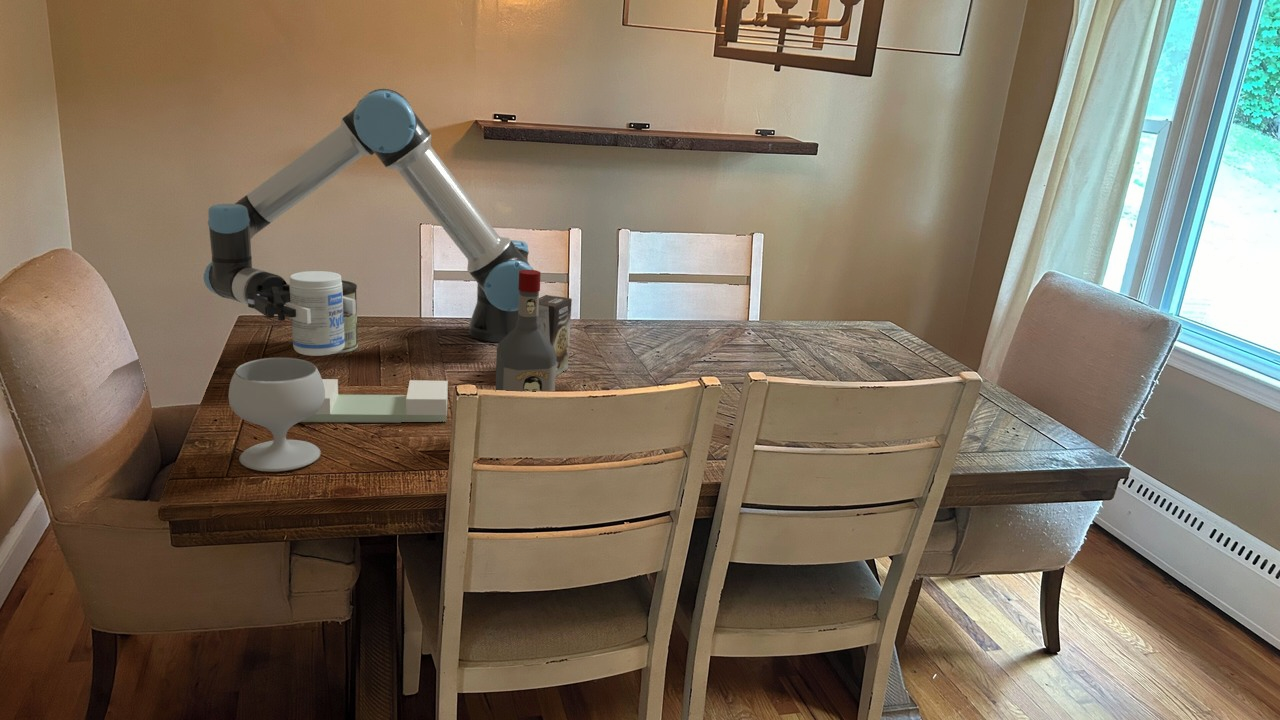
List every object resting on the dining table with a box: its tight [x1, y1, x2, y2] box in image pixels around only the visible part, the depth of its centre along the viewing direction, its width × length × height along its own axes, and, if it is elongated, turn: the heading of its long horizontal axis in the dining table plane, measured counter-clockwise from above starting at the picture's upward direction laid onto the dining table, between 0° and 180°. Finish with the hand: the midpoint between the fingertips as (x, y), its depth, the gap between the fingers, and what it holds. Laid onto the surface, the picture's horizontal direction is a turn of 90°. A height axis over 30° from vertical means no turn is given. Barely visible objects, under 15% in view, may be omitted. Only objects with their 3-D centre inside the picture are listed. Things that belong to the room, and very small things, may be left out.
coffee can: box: [333, 279, 359, 355], centre depth 196 cm, size 10×10×14 cm
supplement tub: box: [288, 270, 345, 357], centre depth 172 cm, size 10×10×15 cm
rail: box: [300, 378, 449, 423], centre depth 163 cm, size 27×10×4 cm, turn 100°
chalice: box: [227, 357, 325, 473], centre depth 141 cm, size 14×14×15 cm
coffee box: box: [538, 294, 573, 377], centre depth 191 cm, size 9×6×16 cm
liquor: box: [495, 269, 557, 392], centre depth 154 cm, size 9×9×30 cm
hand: (332, 311), depth 169 cm, fingers closed on supplement tub, 9 cm apart
